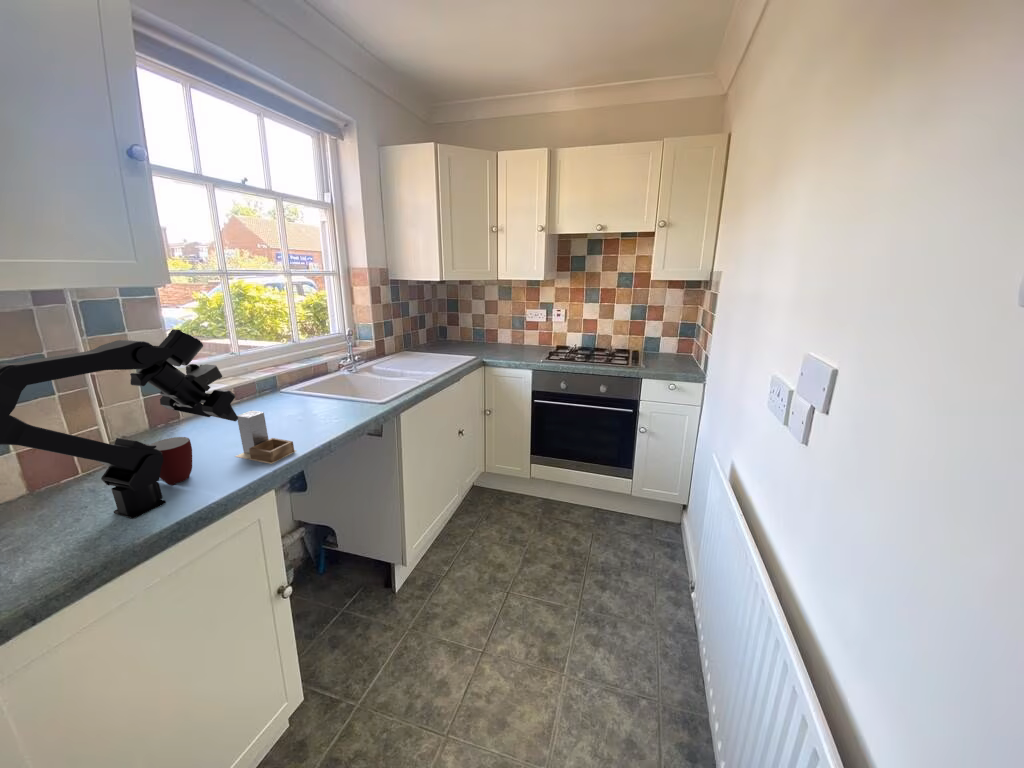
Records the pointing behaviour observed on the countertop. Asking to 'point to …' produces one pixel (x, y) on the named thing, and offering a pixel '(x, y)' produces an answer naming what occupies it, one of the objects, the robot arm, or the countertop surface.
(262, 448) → the stand
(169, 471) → the mug
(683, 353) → the countertop surface
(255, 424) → the post
